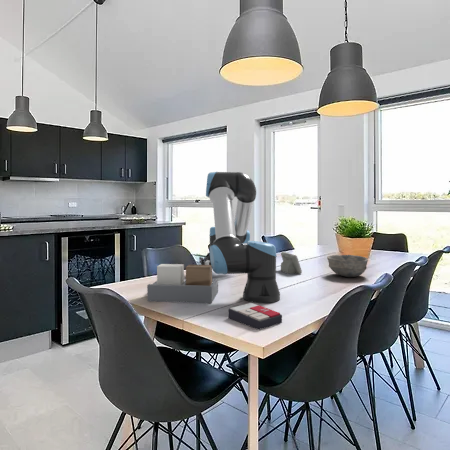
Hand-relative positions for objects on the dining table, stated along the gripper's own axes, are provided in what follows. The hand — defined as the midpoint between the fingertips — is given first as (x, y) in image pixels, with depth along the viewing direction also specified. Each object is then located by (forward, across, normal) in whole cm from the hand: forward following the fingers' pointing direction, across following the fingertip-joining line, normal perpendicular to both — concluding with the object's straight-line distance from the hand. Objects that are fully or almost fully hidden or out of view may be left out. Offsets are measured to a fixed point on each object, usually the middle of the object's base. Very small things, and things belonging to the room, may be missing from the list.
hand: (206, 265), depth 177 cm
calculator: (+47, -25, -11) cm, 54 cm away
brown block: (+18, 0, -8) cm, 20 cm away
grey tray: (+19, +6, -10) cm, 22 cm away
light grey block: (+18, +12, -8) cm, 23 cm away
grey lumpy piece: (-40, -41, -10) cm, 58 cm away
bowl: (-32, -70, -10) cm, 77 cm away
